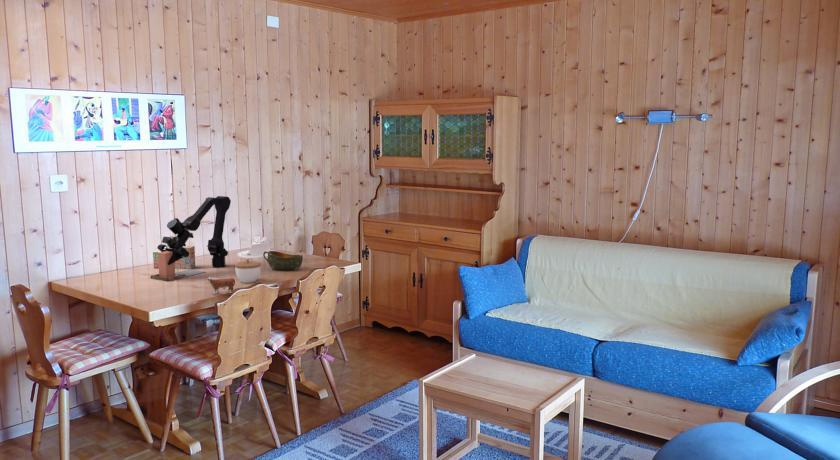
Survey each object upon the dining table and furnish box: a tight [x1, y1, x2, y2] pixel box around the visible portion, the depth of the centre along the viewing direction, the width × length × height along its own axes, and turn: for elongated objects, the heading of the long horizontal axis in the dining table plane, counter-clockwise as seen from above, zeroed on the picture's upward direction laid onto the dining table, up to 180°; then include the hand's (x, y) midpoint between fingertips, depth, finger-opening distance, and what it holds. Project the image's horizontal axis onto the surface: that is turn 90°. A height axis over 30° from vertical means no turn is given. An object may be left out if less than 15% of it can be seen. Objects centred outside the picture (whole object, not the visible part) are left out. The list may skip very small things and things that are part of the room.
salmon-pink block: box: [158, 251, 176, 278], centre depth 342 cm, size 6×6×13 cm
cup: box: [263, 250, 304, 272], centre depth 364 cm, size 13×20×10 cm, turn 56°
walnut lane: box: [150, 273, 186, 282], centre depth 343 cm, size 11×13×2 cm
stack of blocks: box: [152, 244, 196, 270], centre depth 368 cm, size 21×6×12 cm, turn 85°
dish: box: [237, 235, 280, 259], centre depth 409 cm, size 25×25×11 cm
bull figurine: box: [205, 276, 236, 296], centre depth 310 cm, size 4×13×8 cm, turn 95°
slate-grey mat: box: [175, 268, 206, 277], centre depth 355 cm, size 12×12×1 cm
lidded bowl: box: [234, 259, 262, 284], centre depth 336 cm, size 13×13×11 cm
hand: (164, 264), depth 341 cm, fingers closed on salmon-pink block, 5 cm apart
